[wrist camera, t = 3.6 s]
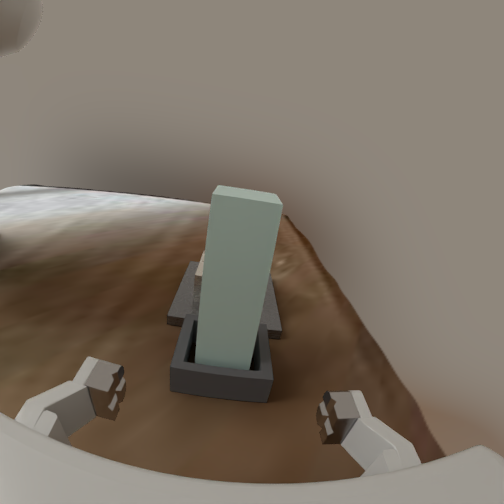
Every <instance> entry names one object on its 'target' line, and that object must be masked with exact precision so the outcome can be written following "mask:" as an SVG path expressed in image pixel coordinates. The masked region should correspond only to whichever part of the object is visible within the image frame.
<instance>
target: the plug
mask: <svg viewBox="0 0 504 504" xmlns="http://www.w3.org/2000/svg"><path fill="white" fill-rule="evenodd" d="M282 208H283V204H282V202H281V201H280V200H279V198H278V197H277V195H276V194H273V193H266V192H261V191H255V190H248V189H242V188H235V187H228V186H221V185H218V186H217V188H216V189H215V191H214V192H213V194H212V200H211V207H210V215H209V223H208V231H207V239H206V248H205V256H204V265H203V275H202V284H201V294H200V305H199V316H198V327H197V340H196V353H195V363H196V364H203V365H210V366H217V367H225V368H233V369H242V370H249V369H250V364H251V360H252V355H253V350H254V346H255V341H256V337H257V332H258V327H259V322H260V318H261V313H262V308H263V303H264V299H265V294H266V289H267V284H268V279H269V274H270V269H271V264H272V259H273V254H274V249H275V244H276V239H277V234H278V229H279V223H280V218H281V213H282Z"/></svg>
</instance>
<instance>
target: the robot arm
mask: <svg viewBox="0 0 504 504" xmlns="http://www.w3.org/2000/svg"><path fill="white" fill-rule="evenodd" d="M42 13H43V4H42V0H0V57H3V56H6V55H9V54H13V53H16V52H19V51H20V50H21V49H23V48H24V46H26V45H27V44H28V42H29V41H30V40H31V38H32V37H33V36H34V34H35V33H36V31H37V29H38V27H39V24H40V22H41V18H42ZM123 375H124V368H123V366H121V365H117V364H114V363H110V362H107V361H103V360H99V359H96V358H93V357H90V356H89V357H88V358H86V360H85V361H84V363H83V365H82V366H81V368H80V369H79V371H78V373H77V374H76V376H75V378H74V379H73V381H67V382H65V383H63V384H61V385H59V386H57V387H54V388H52V389H50V390H48V391H46V392H44V393H41V394H39V395H37V396H35V397H33V398H30V399H28V400H27V401H26V402H25V404H24V405H23V407H22V408H21V410H20V412H19V413H18V415H17V416H16V418H15V420H13V419H12V418H10V417H8V416H6V415H4V414H3V413H1V412H0V504H504V458H503V457H502V456H501V455H499V454H498V453H496V452H494V451H493V450H491V449H489V448H488V447H485V446H483V445H477V446H474V447H472V448H469V449H466V450H463V451H461V452H458V453H455V454H452V455H449V456H446V457H443V458H440V459H437V460H434V461H430V462H427V463H424V464H421V462H420V459H419V457H418V455H417V453H416V451H415V448H414V446H413V444H412V443H410V442H409V441H408V440H406V439H405V438H403V437H402V436H401V435H399V434H398V433H396V432H395V431H394V430H392V429H391V428H390V427H388V426H387V425H385V424H384V423H383V422H381V421H380V420H379V419H377V418H376V417H372V415H371V413H370V410H369V408H368V406H367V403H366V401H365V399H364V396H363V394H362V392H361V391H360V390H351V391H326V392H325V393H324V395H323V400H324V401H323V402H322V403H320V404H319V406H318V408H317V413H316V420H317V424H318V425H319V426H320V427H321V428H322V429H321V431H320V432H319V433H320V437H321V441H322V444H341V446H342V447H343V448H344V449H345V450H346V451H347V452H348V453H349V454H350V455H351V456H352V457H353V458H354V459H355V460H356V461H357V462H358V463H359V464H360V465H361V466H362V467H363V469H364V470H365V472H364V473H363V474H362V475H361V476H360V477H358V478H351V479H344V480H335V481H325V482H312V483H291V484H258V483H237V482H224V481H213V480H205V479H197V478H190V477H183V476H177V475H172V474H166V473H161V472H156V471H152V470H147V469H143V468H139V467H135V466H131V465H127V464H123V463H120V462H116V461H113V460H110V459H106V458H103V457H100V456H97V455H94V454H91V453H88V452H85V451H83V450H80V449H77V448H74V447H72V445H71V443H70V442H69V440H68V438H67V437H69V436H70V435H72V434H73V433H74V432H76V431H77V430H79V429H80V428H81V427H83V426H84V425H86V424H87V423H88V422H90V421H91V420H92V419H94V418H95V417H96V416H98V417H102V418H105V419H109V420H113V421H115V420H116V417H117V415H118V412H119V410H120V409H119V403H121V402H123V399H124V397H125V392H126V381H125V379H124V378H123Z"/></svg>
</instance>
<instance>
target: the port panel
mask: <svg viewBox="0 0 504 504" xmlns="http://www.w3.org/2000/svg"><path fill="white" fill-rule="evenodd" d="M204 256H205V251H204V252H203V254H202V257H201V260H200V262H193V261H190V263H189V266H188V268H187V270H186V272H185V275H184V277H183V279H182V282H181V284H180V286H179V289H178V291H177V293H176V296H175V298H174V300H173V303H172V305H171V308H170V310H169V312H168V315H167V324H170V325H176V326H182V325H183V322H184V319H185V316H186V314H192V315H199V305H200V294H201V284H202V275H203V265H204ZM259 324H267V332H268V338H273V339H280V337H281V333H282V328H281V323H280V318H279V313H278V308H277V303H276V298H275V293H274V288H273V283H272V279H271V274H269V279H268V284H267V289H266V294H265V299H264V303H263V308H262V313H261V318H260V322H259Z"/></svg>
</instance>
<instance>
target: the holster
mask: <svg viewBox="0 0 504 504" xmlns="http://www.w3.org/2000/svg"><path fill="white" fill-rule="evenodd" d="M198 316H199V315H192V314H186V316H185V319H184V322H183V325H182V329H181V332H180V335H179V338H178V342H177V345H176V348H175V352H174V355H173V358H172V362H171V365H170V391H174V392H180V393H186V394H192V395H198V396H205V397H213V398H221V399H230V400H239V401H250V402H264V403H267V400H268V396H269V393H270V390H271V387H272V383H273V372H272V364H271V356H270V348H269V340H268V332H267V324H259V327H258V332H257V337H256V341H255V346H254V350H253V356H254V371H252V370H242V369H233V368H225V367H217V366H210V365H203V364H196V363H190V362H188V359H189V354H190V350H191V346H192V343H196V340H197V327H198Z"/></svg>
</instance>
